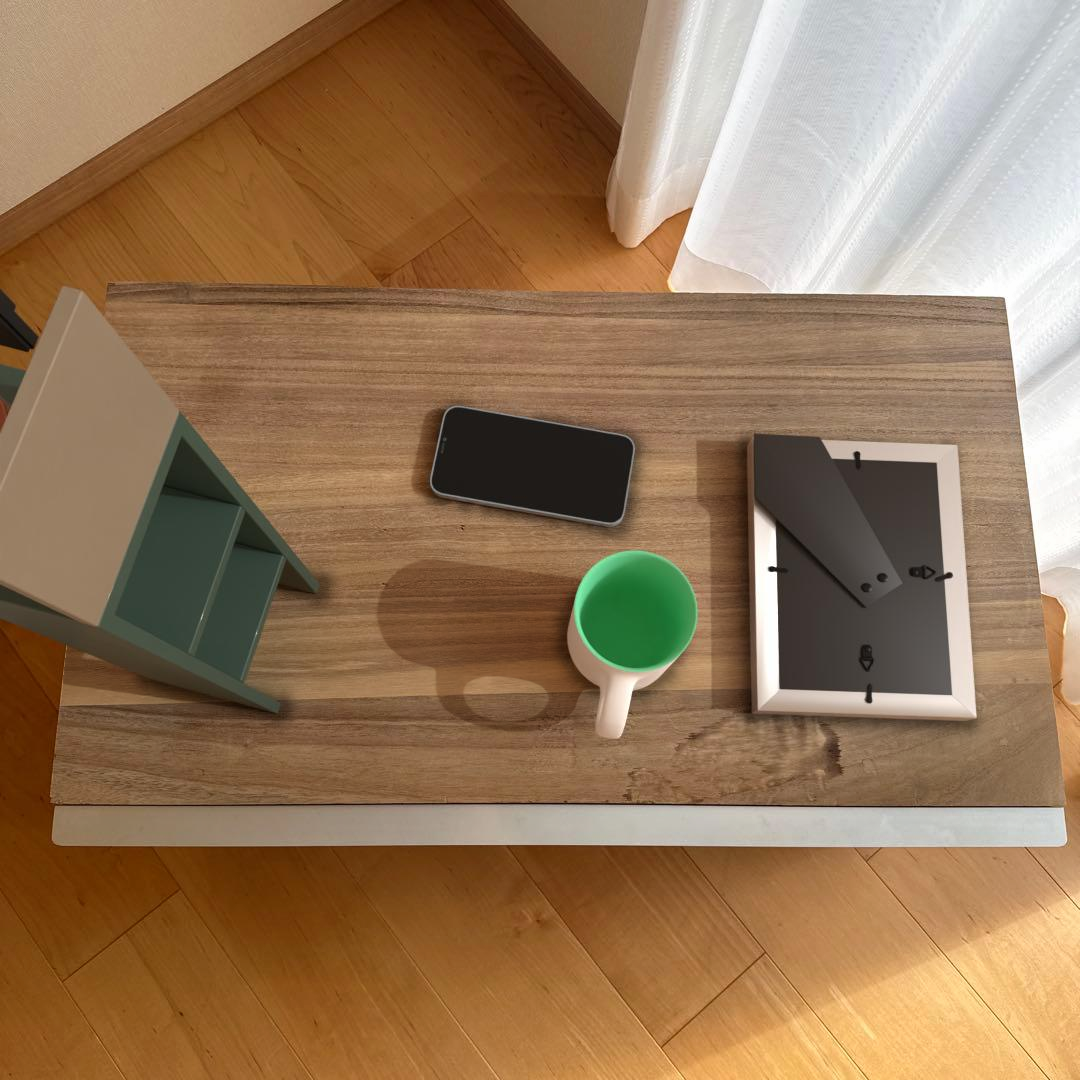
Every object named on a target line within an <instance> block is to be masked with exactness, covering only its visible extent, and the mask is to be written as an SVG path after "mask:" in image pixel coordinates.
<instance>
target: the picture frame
mask: <svg viewBox="0 0 1080 1080" xmlns="http://www.w3.org/2000/svg"><path fill="white" fill-rule="evenodd" d="M958 446H959V445H958V444H946V443H945V444H944V443H917V442H893V441H892V442H891V441H869V440H868V441H867V440H863V441H862V440H841V439H840V440H837V439H822V438H821V437H820V436H811V435H810V436H808V435H793V434H792V435H789V434H770V433H754V434H753V436H752V437H751V438H750V440H749V442H748V443H747V445H746V468H747V470H746V471H747V473H746V475H747V477H746V478H747V523H748V524H747V525H748V527H747V528H748V529H747V530H748V577H749V578H748V581H749V582H748V583H749V585H748V586H749V589H748V590H749V635H750V636H749V641H750V643H749V644H750V694H751V695H750V696H751V697H750V699H751V703H750V704H751V714H752V715H753V714H754V715H780V716H782V715H783V716H784V715H785V716H809V717H836V718H837V717H838V718H839V717H840V718H868V719H870V718H871V719H893V720H897V719H898V720H924V721H925V720H926V721H951V722H952V721H953V722H956V721H957V722H967V721H971V720H975V719H978V717H977V716H978V715H977V704H976V703H977V702H976V688H975V675H974V660H973V645H972V632H971V620H970V619H971V616H970V601H969V590H968V588H969V587H968V576H967V561H966V546H965V532H964V531H965V530H964V517H963V503H962V489H961V475H960V473H961V472H960V460H959V459H960V458H959V447H958Z"/></svg>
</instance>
